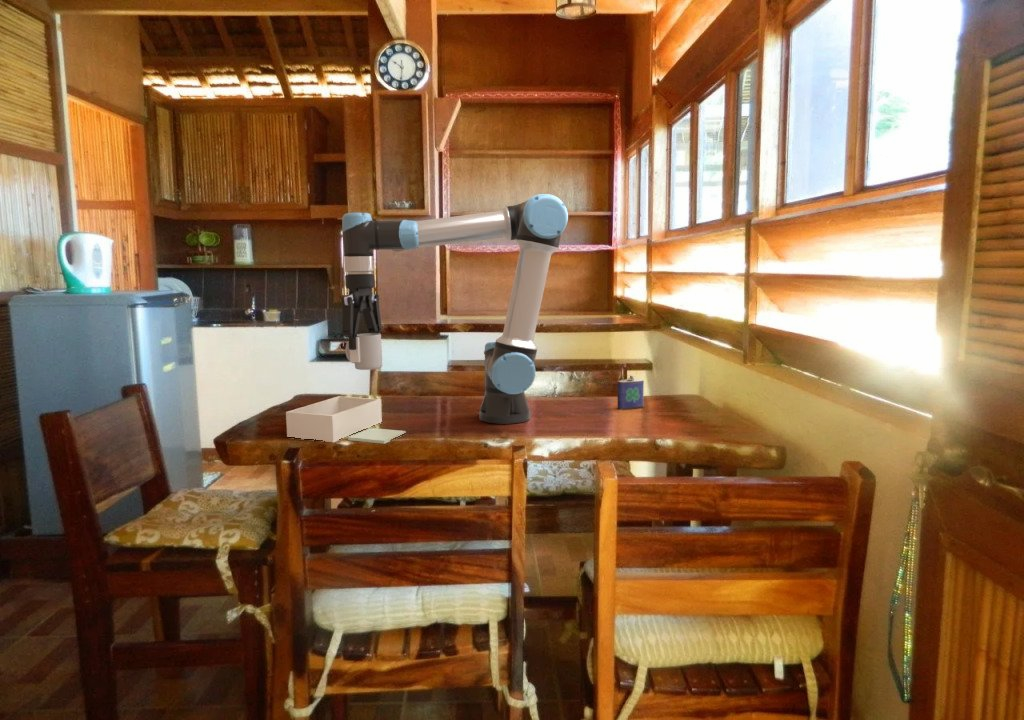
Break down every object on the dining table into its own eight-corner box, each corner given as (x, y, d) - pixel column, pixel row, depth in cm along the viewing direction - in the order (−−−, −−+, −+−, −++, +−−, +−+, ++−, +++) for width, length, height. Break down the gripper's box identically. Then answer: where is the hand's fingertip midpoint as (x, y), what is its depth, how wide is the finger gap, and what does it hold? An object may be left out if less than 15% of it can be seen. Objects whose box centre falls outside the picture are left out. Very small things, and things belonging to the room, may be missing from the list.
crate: (381, 422, 199) (381, 399, 198) (333, 442, 177) (332, 415, 176) (339, 419, 204) (338, 396, 203) (287, 437, 182) (285, 412, 181)
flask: (640, 406, 220) (641, 373, 219) (645, 408, 218) (646, 374, 216) (615, 408, 217) (616, 375, 215) (620, 410, 214) (620, 376, 213)
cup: (376, 370, 177) (374, 335, 176) (340, 369, 179) (338, 336, 178) (386, 366, 184) (385, 333, 183) (352, 365, 186) (350, 333, 185)
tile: (405, 433, 185) (405, 431, 185) (384, 443, 175) (384, 440, 175) (370, 430, 189) (370, 427, 189) (348, 440, 179) (347, 437, 179)
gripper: (369, 272, 189) (373, 354, 192) (323, 274, 171) (329, 364, 174) (392, 272, 186) (396, 355, 190) (348, 273, 168) (353, 365, 171)
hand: (364, 359), depth 182 cm, fingers closed on cup, 7 cm apart
